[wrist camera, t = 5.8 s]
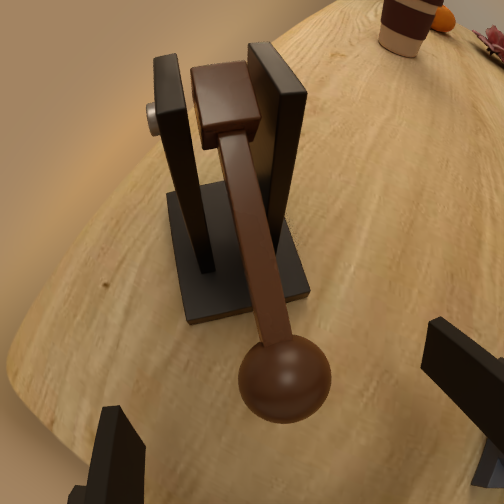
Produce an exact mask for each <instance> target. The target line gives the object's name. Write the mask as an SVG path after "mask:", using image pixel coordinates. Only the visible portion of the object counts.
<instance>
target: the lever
mask: <svg viewBox="0 0 504 504" xmlns="http://www.w3.org/2000/svg"><path fill="white" fill-rule="evenodd" d="M190 73H191V85H192V97H193V102H194V108H195V113H196V119H197V124H198V129H199V134H200V139H201V144H202V149H203V150H209V149H214V148H217V149H218V154H219V158H220V163H221V168H222V172H223V177H224V182H225V186H226V191H227V195H228V200H229V205H230V209H231V214H232V218H233V223H234V227H235V232H236V236H237V241H238V245H239V250H240V254H241V259H242V263H243V268H244V272H245V277H246V281H247V285H248V290H249V294H250V299H251V303H252V307H253V312H254V316H255V321H256V325H257V329H258V334H259V338H260V342H258V343H257V344H256V345H255V346H253V347H252V348H251V349H250V350H249V352H248V353H247V354H246V356H245V357H244V359H243V361H242V363H241V366H240V369H239V375H238V385H239V391H240V394H241V396H242V399H243V401H244V402H245V404H246V405H247V407H248V408H249V409H250V410H251V411H252V412H253V413H254V414H256V415H257V416H259V417H260V418H262V419H264V420H266V421H269V422H273V423H280V424H289V423H295V422H298V421H301V420H304V419H306V418H308V417H309V416H311V415H312V414H314V413H315V412H316V411H317V410H318V409H319V408H320V407H321V406H322V404H323V403H324V402H325V400H326V398H327V396H328V394H329V391H330V387H331V369H330V365H329V363H328V360H327V358H326V356H325V355H324V353H323V352H322V351H321V349H320V348H319V347H318V346H317V345H315V344H314V343H313V342H311V341H310V340H308V339H306V338H304V337H301V336H297V335H292V331H291V326H290V321H289V317H288V312H287V307H286V303H285V298H284V293H283V289H282V284H281V279H280V275H279V270H278V266H277V261H276V257H275V252H274V248H273V243H272V239H271V235H270V230H269V226H268V221H267V217H266V213H265V208H264V204H263V200H262V196H261V191H260V187H259V183H258V179H257V174H256V170H255V166H254V162H253V158H252V154H251V149H250V145H249V142H253V141H254V138H255V135H256V132H257V130H258V127H259V124H260V121H261V119H262V116H261V112H260V108H259V105H258V101H257V97H256V94H255V90H254V87H253V83H252V80H251V76H250V73H249V69H248V66H247V63H246V61H244V60H242V61H233V62H225V63H217V64H211V65H204V66H198V67H192V68H191V69H190Z"/></svg>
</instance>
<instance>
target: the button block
mask: <svg viewBox="0 0 504 504" xmlns="http://www.w3.org/2000/svg"><path fill="white" fill-rule="evenodd" d="M471 485H474V486H479V487H484V488H504V455H503V454H502V452H501V451H500V450H499V449H498V448H497V447H496V446H495V445H494V444H493V443H492V442H491V440H490V439H489V438H488V439H487V442H486V445H485V448H484V451H483V454H482V457H481V460H480V462H479V465H478V468H477V470H476V473H475V475H474V478H473V480H472V483H471Z"/></svg>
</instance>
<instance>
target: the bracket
mask: <svg viewBox="0 0 504 504" xmlns="http://www.w3.org/2000/svg"><path fill="white" fill-rule="evenodd" d="M247 66H248V69H249V73H250V76H251V80H252V83H253V87H254V90H255V94H256V97H257V101H258V105H259V108H260V112H261V116H262V119H261V121H260V124H259V127H258V130H257V132H256V135H255V138H254V141H253V142H249V145H250V149H251V154H252V158H253V162H254V166H255V170H256V174H257V179H258V183H259V187H260V191H261V196H262V200H263V204H264V208H265V213H266V217H267V221H268V226H269V230H270V235H271V239H272V243H273V248H274V252H275V257H276V261H277V266H278V270H279V275H280V279H281V284H282V289H283V293H284V298H285V303H286V302H290V301H294V300H298V299H302V298H305V297H308V295H309V293H310V291H311V290H310V287H309V284H308V281H307V278H306V276H305V273H304V270H303V267H302V264H301V261H300V258H299V256H298V253H297V250H296V247H295V244H294V242H293V239H292V236H291V233H290V231H289V228H288V225H287V222H286V220H285V217H284V215H285V210H286V205H287V200H288V195H289V190H290V185H291V180H292V175H293V170H294V165H295V159H296V154H297V149H298V144H299V138H300V133H301V127H302V122H303V116H304V111H305V105H306V100H307V94H308V93H307V91H306V89H305V88H304V86H303V85H302V84H301V82H300V81H299V79H298V78H297V77H296V75H295V74H294V73H293V71H292V70H291V69H290V67H289V66H288V65H287V63H286V62H285V61H284V59H283V58H282V57H281V56H280V54H279V53H278V52H277V51H276V49H275V48H274V47H273V46H272V44H271V43H270V42H258V43H257V42H256V43H249V44H248V62H247ZM153 67H154V70H153V71H154V100H155V102H152V103H148V104H147V105H146V113H147V120H148V125H149V129H150V132H151V135H152V136H158V135H160V136H161V140H162V143H163V147H164V151H165V155H166V158H167V162H168V166H169V169H170V173H171V177H172V180H173V184H174V187H175V191H173V192H169V193H166V197H167V205H168V212H169V220H170V227H171V234H172V241H173V247H174V254H175V260H176V266H177V272H178V278H179V284H180V289H181V295H182V300H183V306H184V311H185V316H186V321H187V322H188V323H189V325H193V324H198V323H202V322H207V321H212V320H216V319H220V318H225V317H229V316H233V315H238V314H242V313H246V312H250V311H253V307H252V303H251V299H250V294H249V290H248V285H247V281H246V277H245V272H244V268H243V263H242V259H241V254H240V250H239V245H238V241H237V236H236V232H235V227H234V223H233V218H232V214H231V209H230V205H229V200H228V195H227V191H226V186H225V182H224V181H220V182H215V183H210V184H205V185H199V179H198V174H197V168H196V162H195V156H194V151H193V145H192V139H191V133H190V126H189V120H188V114H187V108H186V102H185V97H184V91H183V86H182V81H181V75H180V69H179V64H178V58H177V54H176V53H174V54H169V55H164V56H160V57H155V58H154V59H153Z"/></svg>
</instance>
